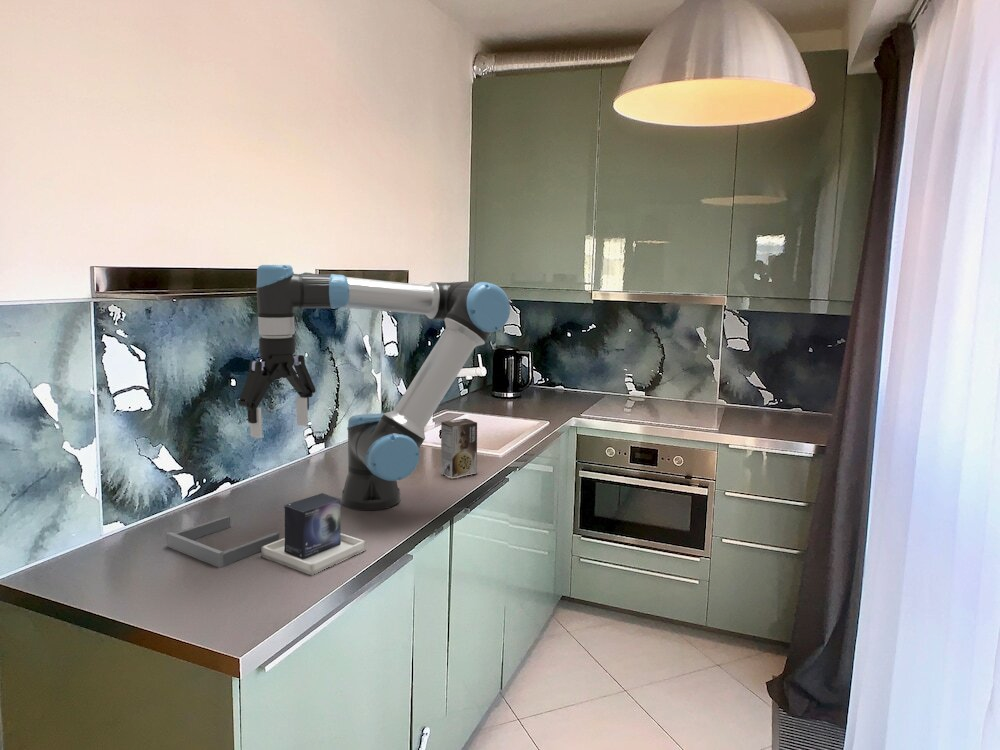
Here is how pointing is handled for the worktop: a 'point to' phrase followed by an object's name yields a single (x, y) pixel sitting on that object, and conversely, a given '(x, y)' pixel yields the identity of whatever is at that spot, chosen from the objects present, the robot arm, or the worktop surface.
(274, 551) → the tray
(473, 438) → the coffee box
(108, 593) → the worktop surface
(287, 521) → the small box
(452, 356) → the robot arm
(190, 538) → the bay
